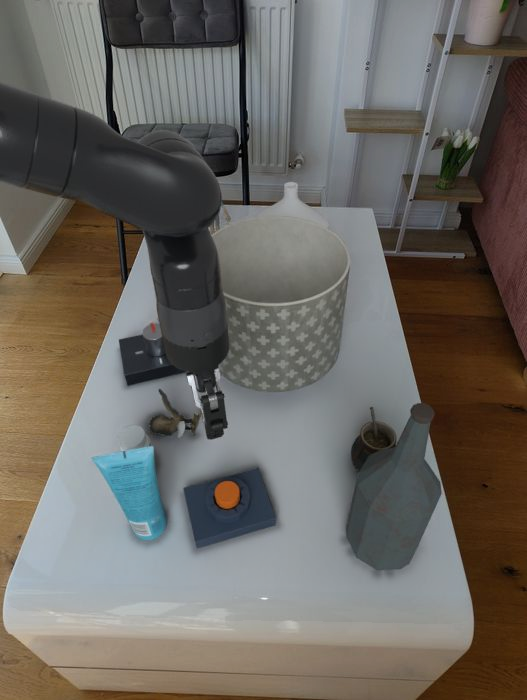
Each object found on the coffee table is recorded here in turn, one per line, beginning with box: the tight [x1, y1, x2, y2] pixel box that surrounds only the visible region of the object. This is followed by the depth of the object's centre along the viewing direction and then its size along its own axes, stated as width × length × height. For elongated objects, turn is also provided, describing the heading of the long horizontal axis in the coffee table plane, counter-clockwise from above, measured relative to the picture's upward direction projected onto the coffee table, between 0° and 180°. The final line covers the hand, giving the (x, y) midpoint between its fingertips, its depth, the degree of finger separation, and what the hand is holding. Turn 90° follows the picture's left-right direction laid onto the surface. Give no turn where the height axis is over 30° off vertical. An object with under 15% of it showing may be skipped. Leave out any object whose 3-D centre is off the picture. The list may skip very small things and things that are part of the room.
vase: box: [254, 181, 331, 230], centre depth 118 cm, size 18×18×19 cm
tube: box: [91, 445, 167, 541], centre depth 70 cm, size 7×5×19 cm, turn 107°
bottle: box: [345, 402, 443, 571], centre depth 65 cm, size 10×10×30 cm
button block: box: [182, 467, 277, 549], centre depth 77 cm, size 12×9×4 cm
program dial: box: [141, 322, 166, 356], centre depth 98 cm, size 4×4×5 cm
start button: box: [215, 481, 240, 509], centre depth 76 cm, size 4×4×2 cm
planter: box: [211, 216, 351, 393], centre depth 93 cm, size 25×25×24 cm
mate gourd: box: [350, 406, 398, 472], centre depth 81 cm, size 7×8×10 cm
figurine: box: [209, 202, 232, 235], centre depth 125 cm, size 8×3×15 cm, turn 94°
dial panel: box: [118, 334, 187, 386], centre depth 100 cm, size 14×10×3 cm
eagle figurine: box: [148, 388, 202, 439], centre depth 88 cm, size 8×7×9 cm
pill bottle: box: [117, 424, 156, 462], centre depth 82 cm, size 5×5×8 cm
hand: (207, 411), depth 69 cm, fingers open, 8 cm apart
